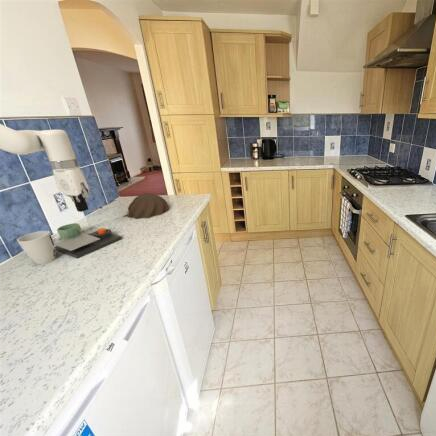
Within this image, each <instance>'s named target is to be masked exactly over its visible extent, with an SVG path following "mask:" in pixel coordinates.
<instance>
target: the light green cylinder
mask: <svg viewBox="0 0 436 436" xmlns="http://www.w3.org/2000/svg"><path fill="white" fill-rule="evenodd" d="M81 227H82V226H81V224H80V223H79V222H76V223H75V222H73V223H68V224H65V225H61V226H59V227H58V228H57V229H56V231H57V233H58V235H59V238H60V240H61V241H63V240H66V239H69V238H71V237H74V236H77V235H80V234H82V233H84V232H83V230H82V228H81Z"/></svg>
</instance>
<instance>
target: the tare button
mask: <svg viewBox="0 0 436 436" xmlns="http://www.w3.org/2000/svg"><path fill="white" fill-rule="evenodd" d="M106 229H107V228H105V227H102V228H99V229H97V230H96V231H97V232H98V234H104V233H106V232H107V231H106Z"/></svg>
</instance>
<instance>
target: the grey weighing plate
mask: <svg viewBox="0 0 436 436" xmlns="http://www.w3.org/2000/svg"><path fill="white" fill-rule="evenodd" d="M88 234H89V233H86V232H83V233H82V234H80V235H77V236H74V237H71V238H69V239H66V240H63V241H62V240H61V241H58V242H54V246H58V247H61V248H63V249H66V250H68V251H72V250H74V249H77V248H79V247H82V246H84V245H87V244H89V243H92V242H94V241H97V240H99V239H100V238H97V237H94V236H91V235H88Z"/></svg>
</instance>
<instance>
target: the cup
mask: <svg viewBox="0 0 436 436" xmlns="http://www.w3.org/2000/svg"><path fill="white" fill-rule="evenodd" d="M16 241H17V243H18V244H19V246H20V247H21V249H22V250H23V252H24V253H25V254H26V255H27V256H28V257H29V258H30V260H32V261H33V262H34V263H36V264H37V265H43V264H44V265H45V264H48V263H50V262H52V261H54V260H55V259H56V258H57V254H56V253H57V250H56V248H55V246H56V245H54V244H55V242H54V239H53V236H52V235H51V232H50V230H39V231H34V232H29V233H27V234H25V235H22V236H20V237H18V238H17V240H16Z"/></svg>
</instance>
